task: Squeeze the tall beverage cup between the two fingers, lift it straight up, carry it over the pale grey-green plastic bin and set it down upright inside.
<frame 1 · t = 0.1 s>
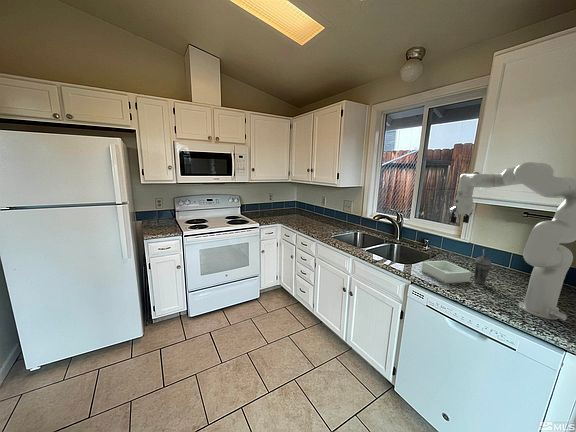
hand: (459, 222, 143), 31 cm above the counter, tool pointing down, fingers open, 9 cm apart
bin: (444, 276, 139), on the counter
beverage cup: (478, 282, 133), on the counter
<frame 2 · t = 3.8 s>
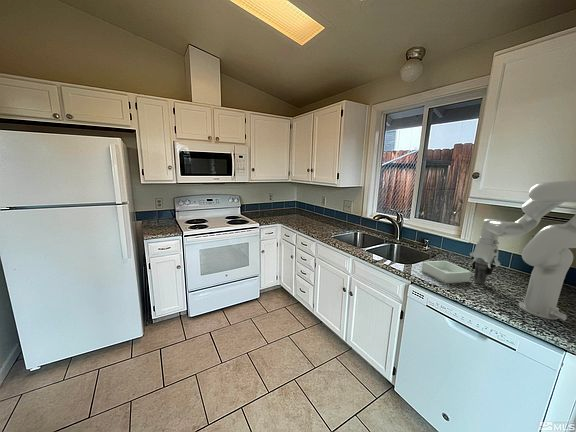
hand: (481, 271, 132), 7 cm above the counter, tool pointing down, fingers closed on beverage cup, 6 cm apart
beverage cup: (478, 282, 133), on the counter, touching gripper
when the fingers open (9 cm above the counter, at t = 11.4 s): beverage cup drops 1 cm, resting on bin.
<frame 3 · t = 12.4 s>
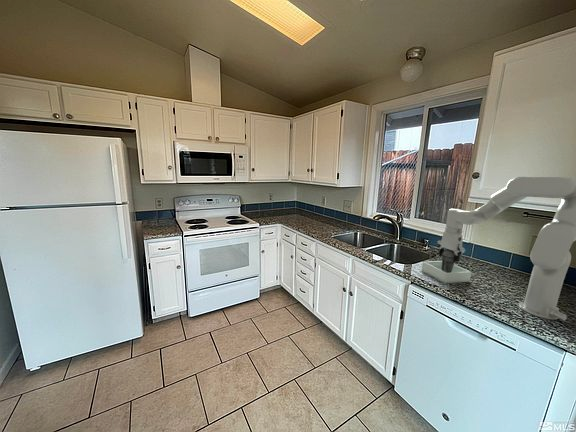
hand: (448, 258, 137), 11 cm above the counter, tool pointing down, fingers open, 9 cm apart
beverage cup: (445, 274, 139), point 1 cm above the counter, touching bin
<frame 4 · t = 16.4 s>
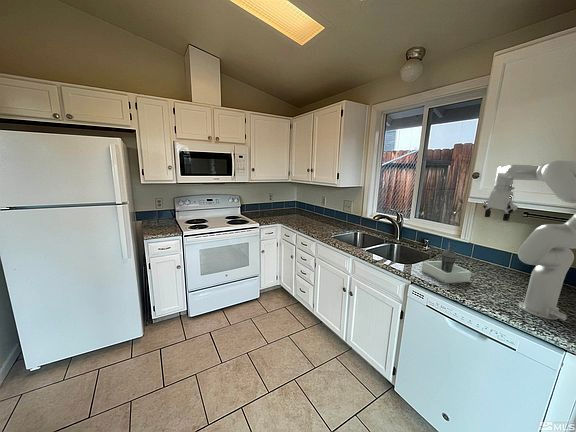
hand: (495, 218, 132), 36 cm above the counter, tool pointing down, fingers open, 9 cm apart
nothing on the counter moved.
at the end: beverage cup inside the target area on the bin (0.5 cm from its centre), point 0.8 cm above the bin's base; beverage cup tilted 0°; the gripper is holding nothing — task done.
